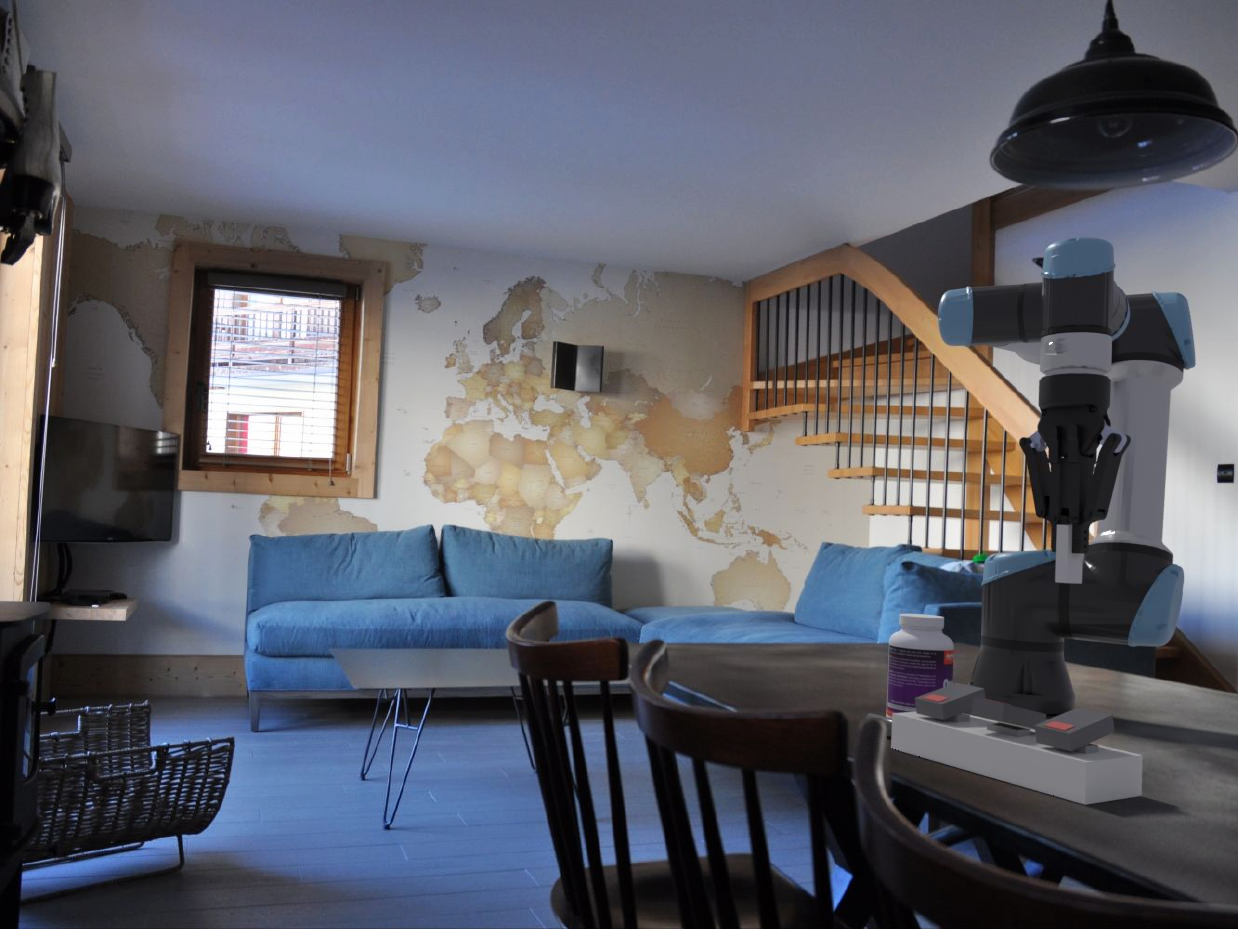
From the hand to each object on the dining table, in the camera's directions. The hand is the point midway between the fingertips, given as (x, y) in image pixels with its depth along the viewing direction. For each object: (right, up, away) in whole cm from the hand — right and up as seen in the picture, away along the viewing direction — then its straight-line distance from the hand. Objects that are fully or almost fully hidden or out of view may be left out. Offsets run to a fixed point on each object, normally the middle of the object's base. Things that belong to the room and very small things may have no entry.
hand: (1068, 582), depth 119 cm
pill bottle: (-13, -21, +16) cm, 29 cm away
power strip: (-11, -20, -2) cm, 23 cm away
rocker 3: (-5, -13, -12) cm, 19 cm away
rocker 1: (-13, -14, +1) cm, 19 cm away
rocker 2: (-9, -14, -5) cm, 17 cm away
